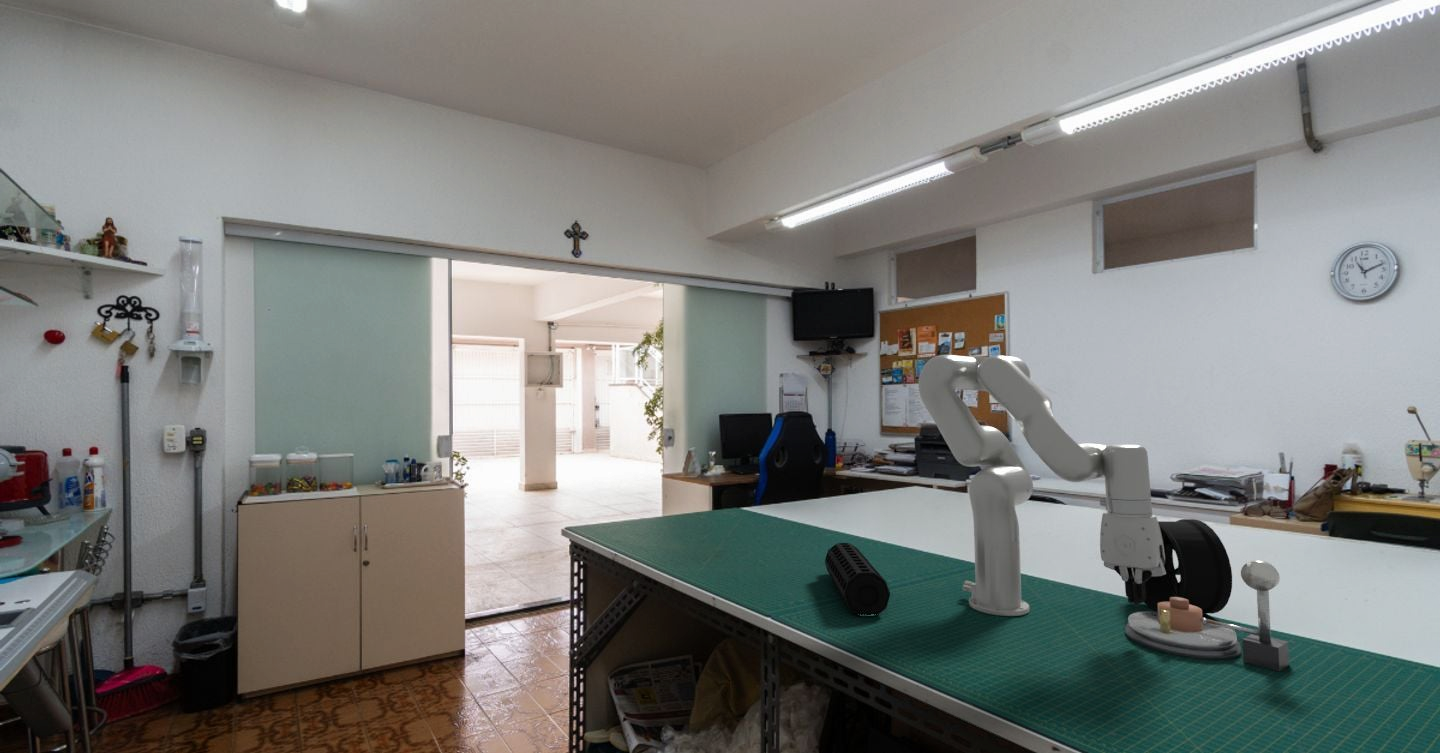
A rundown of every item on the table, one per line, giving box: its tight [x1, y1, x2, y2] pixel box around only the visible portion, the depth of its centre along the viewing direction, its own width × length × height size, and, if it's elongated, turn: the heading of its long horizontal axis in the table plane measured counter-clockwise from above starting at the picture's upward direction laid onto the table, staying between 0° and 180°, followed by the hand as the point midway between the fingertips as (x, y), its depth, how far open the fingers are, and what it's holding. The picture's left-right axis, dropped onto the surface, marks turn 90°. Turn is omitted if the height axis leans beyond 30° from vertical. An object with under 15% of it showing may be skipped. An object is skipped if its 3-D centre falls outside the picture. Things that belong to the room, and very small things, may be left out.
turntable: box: [1127, 609, 1238, 650], centre depth 123 cm, size 17×17×6 cm
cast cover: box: [1158, 597, 1203, 632], centre depth 123 cm, size 7×7×5 cm
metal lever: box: [1201, 559, 1290, 673], centre depth 116 cm, size 12×5×18 cm, turn 34°
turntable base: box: [1125, 622, 1242, 661], centre depth 123 cm, size 18×18×1 cm
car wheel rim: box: [1133, 518, 1233, 614], centre depth 141 cm, size 20×10×20 cm, turn 175°
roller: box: [824, 542, 891, 616], centre depth 157 cm, size 38×10×10 cm, turn 179°
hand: (1136, 602), depth 124 cm, fingers closed
